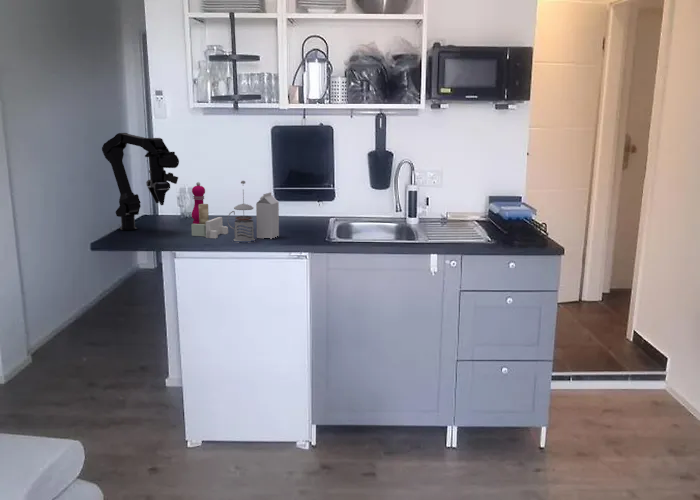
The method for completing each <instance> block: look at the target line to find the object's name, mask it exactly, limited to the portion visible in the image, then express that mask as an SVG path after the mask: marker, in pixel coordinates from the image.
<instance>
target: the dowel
mask: <svg viewBox="0 0 700 500" xmlns="http://www.w3.org/2000/svg"><path fill="white" fill-rule="evenodd" d="M209 220H210V218H209V204H208V203H204V204H199V224H205V225H206V221H209Z"/></svg>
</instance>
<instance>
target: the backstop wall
mask: <svg viewBox="0 0 700 500" xmlns="http://www.w3.org/2000/svg"><path fill="white" fill-rule="evenodd" d="M228 234H229V226H226V225H225V226H224V225H223V217H222V216H218V217H215V218H212V219H209V221H206V237H205V238H206V239H218V237H219V235H228Z"/></svg>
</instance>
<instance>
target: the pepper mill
mask: <svg viewBox="0 0 700 500" xmlns="http://www.w3.org/2000/svg"><path fill="white" fill-rule="evenodd" d="M191 193H192V195H193V196H192V197H193V202H194V204H193V209H192V211H191V218H192V219H193V221H192V224H199V204H205V203H204V200H205V194H206V189H205V187H204V186H203V185H201V183H200V182H199V181H198V182H196V184H195V185H194V186H193V187H192V189H191Z"/></svg>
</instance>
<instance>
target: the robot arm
mask: <svg viewBox="0 0 700 500" xmlns="http://www.w3.org/2000/svg"><path fill="white" fill-rule="evenodd" d="M127 145H132V146H137V147H140V148H142V149H143V150H145V151H146V152H147V153H146V154H145V155H144V158H148V163H149V170H148V174H149V175H150V179H148V180H147V181H146V182H145V183H146V187H147V190H148V191H149V193H150V194H151V196H152V198H153V200H154V202H155V204H160V206H164V205H165V204H164V203H165V199H166V195H167V192H168V191H170V189H171V184H174V185H177V184H178V180H179V176H175V175H174V173H173V172H167V171H166V170H165V169H176V168H178V166H180V159H179V157H178V155H177V154H176V152H175V151H170V150H169V148H168V146H167V145H166V144H165V142H164V139H163V138H161V137H143V136H139V135H135V134H130V133H127V132H119V133H116V134H115V135H114V136H113V137H112V138H110V139H108V140H107V141H106V142H105V143H103V145H102V147H101V150H102V154H103V155H104V158H105V159H106V160H107V162H109V163H110V165H111V168H112V171H113V175H114V178H115V181H116V184H117V185H116V186H117V189H118V190H119V195H120V196H119V199H118V203H119V207H118V208H117V209H116V211H115V214H116V215H115V216H116V217H119V218H120V222H121V226H120V227H119V229H120V230H121V231H133V230H136V231H137V230H138V228H137V227H136V220H135V216H139V213H140V208H141V207H142V206H141V203H142V202H141V201H140V197H139V194H137V193H136V194H135V193H134V192H133V191H132V187H131V185H130V181H129V178H128V176H127V172H126V169H125V165H124V162H123V158H124V155H125V153H124V149H126V147H127Z"/></svg>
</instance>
